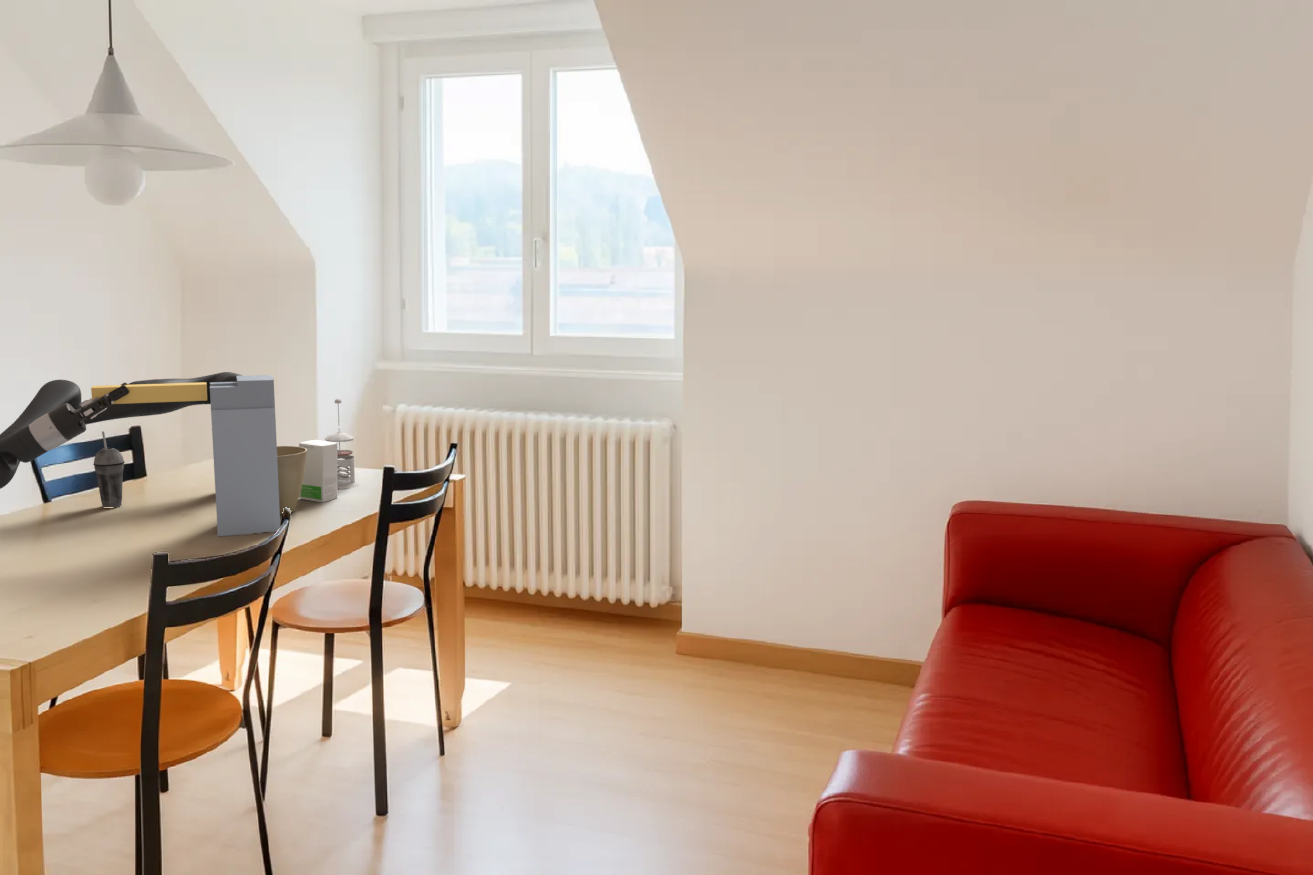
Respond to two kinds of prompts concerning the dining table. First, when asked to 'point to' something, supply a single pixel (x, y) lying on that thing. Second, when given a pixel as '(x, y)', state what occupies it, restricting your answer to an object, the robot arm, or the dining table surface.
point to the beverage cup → (109, 475)
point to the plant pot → (290, 475)
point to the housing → (245, 455)
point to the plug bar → (156, 392)
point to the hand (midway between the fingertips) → (127, 387)
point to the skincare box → (320, 471)
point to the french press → (343, 479)
